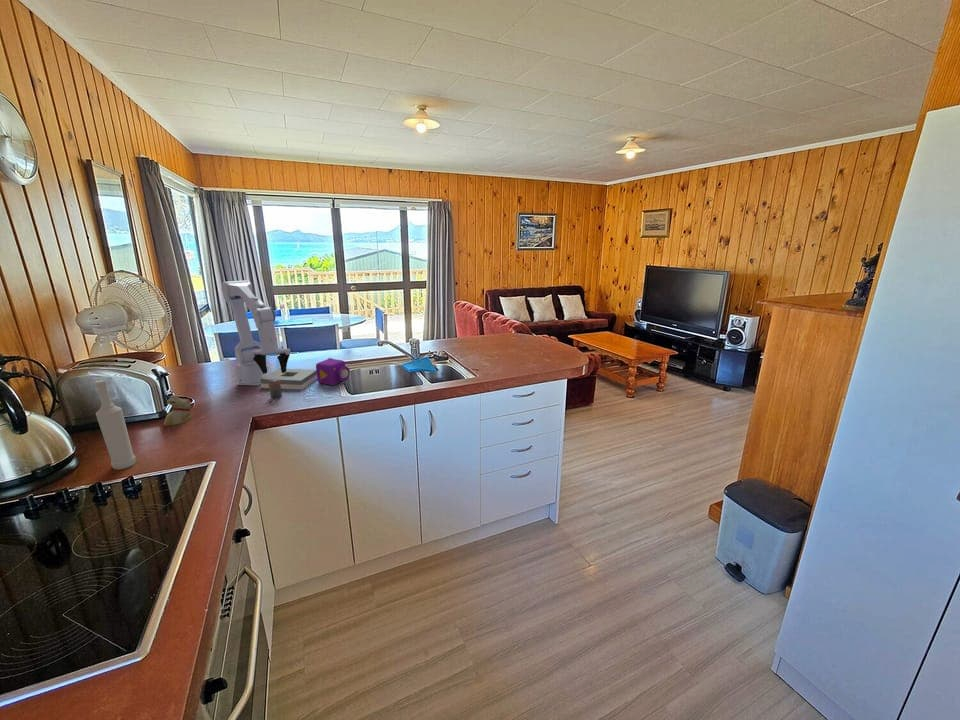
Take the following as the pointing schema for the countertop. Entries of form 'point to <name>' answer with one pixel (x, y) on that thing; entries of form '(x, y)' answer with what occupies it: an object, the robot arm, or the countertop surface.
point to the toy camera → (332, 371)
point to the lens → (275, 388)
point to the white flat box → (291, 378)
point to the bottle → (114, 430)
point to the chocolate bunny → (177, 411)
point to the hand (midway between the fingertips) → (274, 372)
